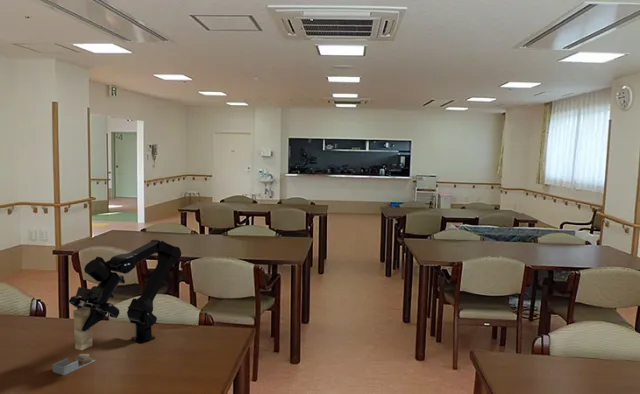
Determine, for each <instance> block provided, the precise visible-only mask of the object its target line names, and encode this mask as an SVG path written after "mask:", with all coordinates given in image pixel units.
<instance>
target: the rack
mask: <svg viewBox="0 0 640 394" xmlns="http://www.w3.org/2000/svg"><path fill="white" fill-rule="evenodd" d="M96 361H97V360H96V359H93V358H92V362H90V363H87V364H85V365H83V366H81V365H78V361H75V362H74V361H73V362H71V363H70V359H69V357H66V358H64V359H61V360H60V361H57V362H55V363H52V372H53V373H55V374H58V375H62V376H66V375H67V374H68V375H69V374H70V373H72V372H73V371H74V372H75V371H76V370H78V369H80V368H83V367H85V366H87V365H89V364H91V363H93V362H96Z"/></svg>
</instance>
